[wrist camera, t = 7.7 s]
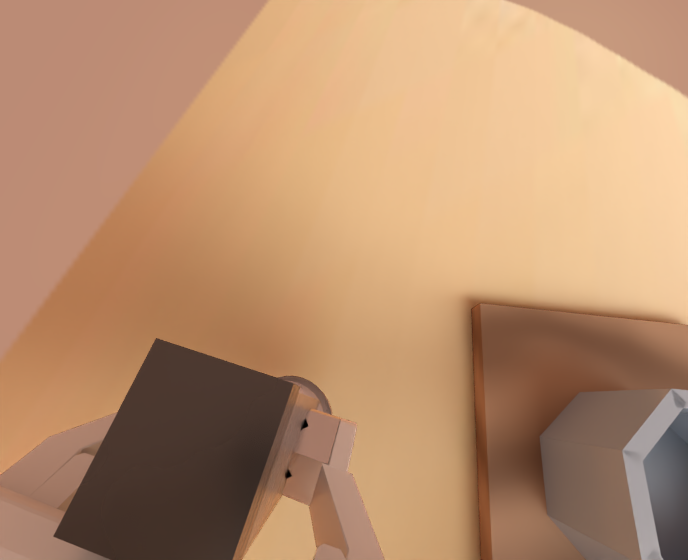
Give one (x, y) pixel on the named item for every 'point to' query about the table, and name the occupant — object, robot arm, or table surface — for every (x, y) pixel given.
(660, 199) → the table surface
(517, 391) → the serving board
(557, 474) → the utensil crock
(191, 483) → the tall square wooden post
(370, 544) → the robot arm
